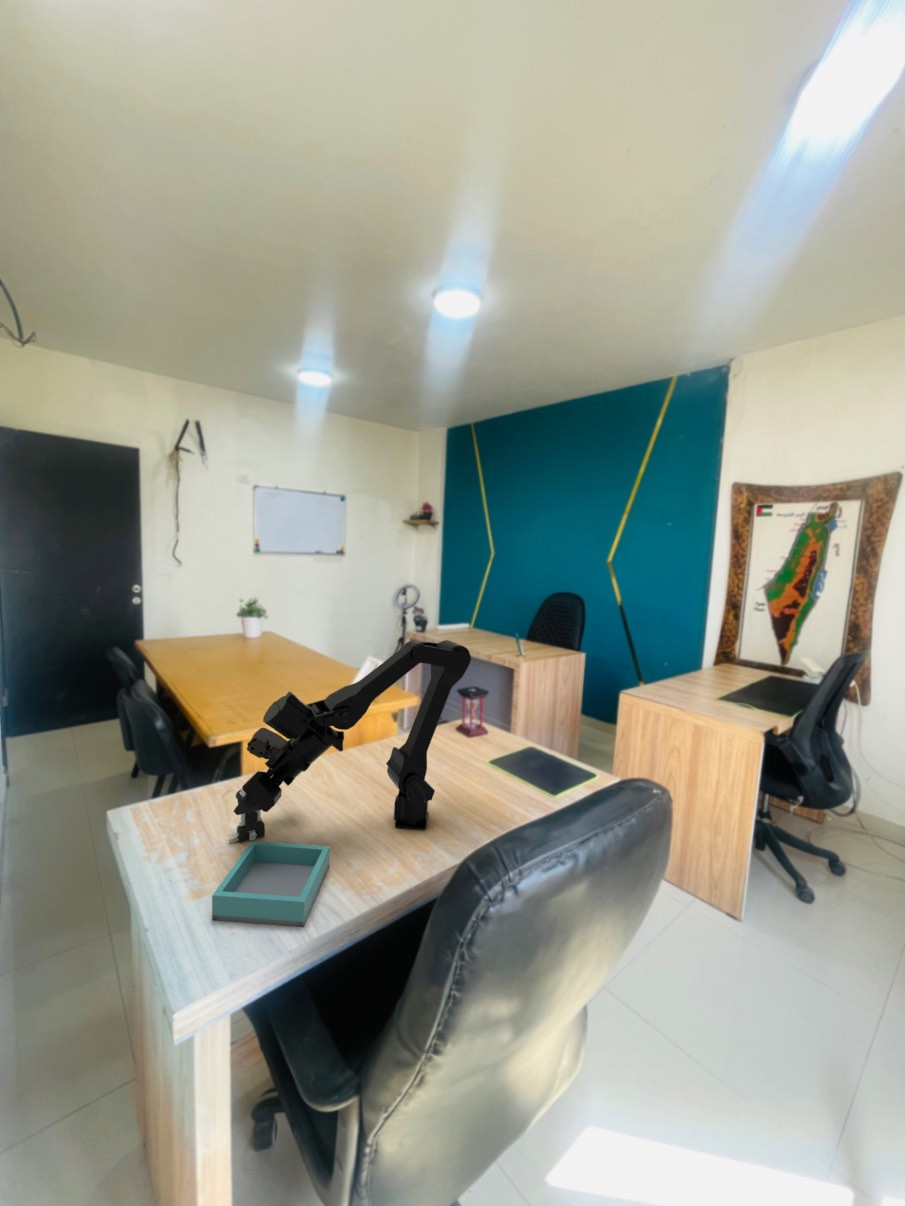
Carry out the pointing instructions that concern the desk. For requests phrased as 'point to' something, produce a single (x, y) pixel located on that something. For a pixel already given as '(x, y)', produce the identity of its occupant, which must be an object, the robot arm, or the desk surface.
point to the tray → (272, 884)
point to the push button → (248, 824)
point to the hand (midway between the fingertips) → (246, 800)
